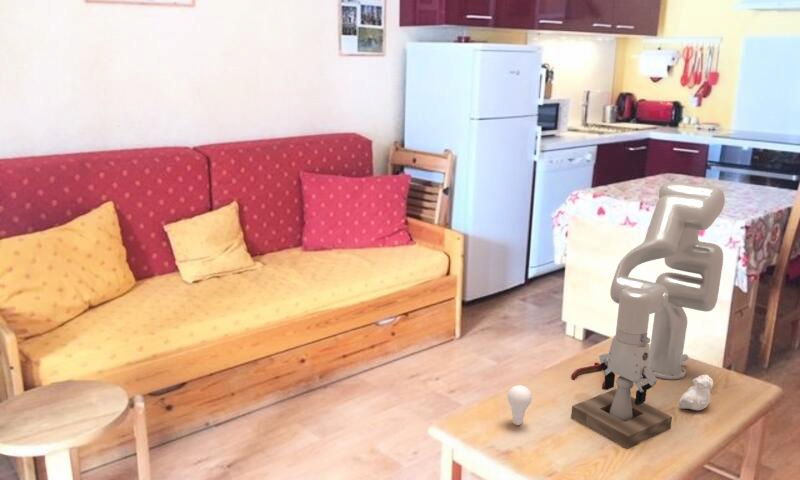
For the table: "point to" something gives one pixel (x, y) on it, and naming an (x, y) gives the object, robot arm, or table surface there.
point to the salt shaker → (622, 400)
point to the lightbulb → (519, 402)
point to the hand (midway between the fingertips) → (623, 395)
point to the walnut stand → (623, 433)
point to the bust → (697, 394)
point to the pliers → (588, 371)
